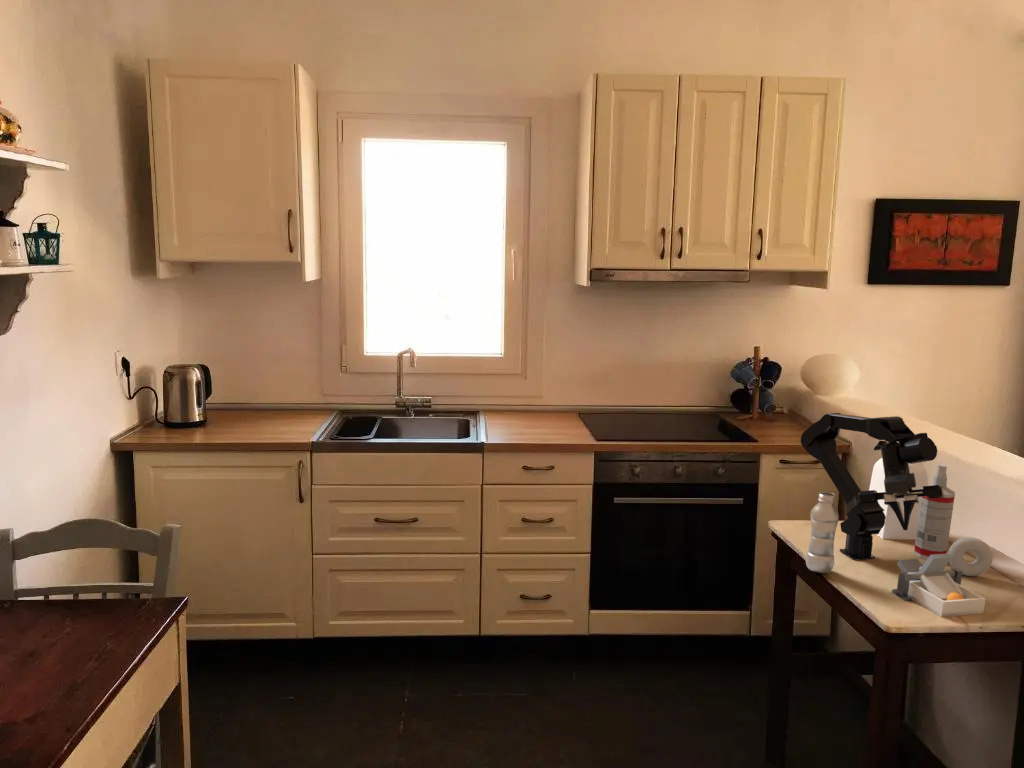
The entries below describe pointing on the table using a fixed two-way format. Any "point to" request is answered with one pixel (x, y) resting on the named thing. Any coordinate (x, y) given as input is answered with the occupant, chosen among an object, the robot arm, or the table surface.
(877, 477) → the milk
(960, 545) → the donut
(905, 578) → the stand
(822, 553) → the plastic bottle
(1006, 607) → the table surface
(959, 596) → the ball
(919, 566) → the lever
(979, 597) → the white storage bin
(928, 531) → the spray bottle
